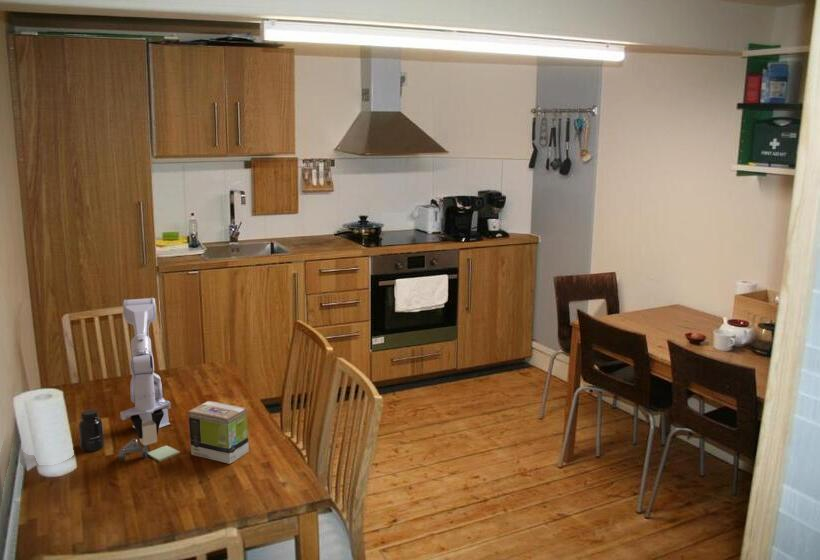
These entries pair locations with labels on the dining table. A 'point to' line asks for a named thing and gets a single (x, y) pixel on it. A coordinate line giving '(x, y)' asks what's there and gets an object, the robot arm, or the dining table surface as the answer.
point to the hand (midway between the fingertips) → (148, 435)
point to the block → (148, 432)
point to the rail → (133, 449)
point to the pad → (163, 453)
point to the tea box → (218, 431)
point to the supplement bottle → (91, 431)
